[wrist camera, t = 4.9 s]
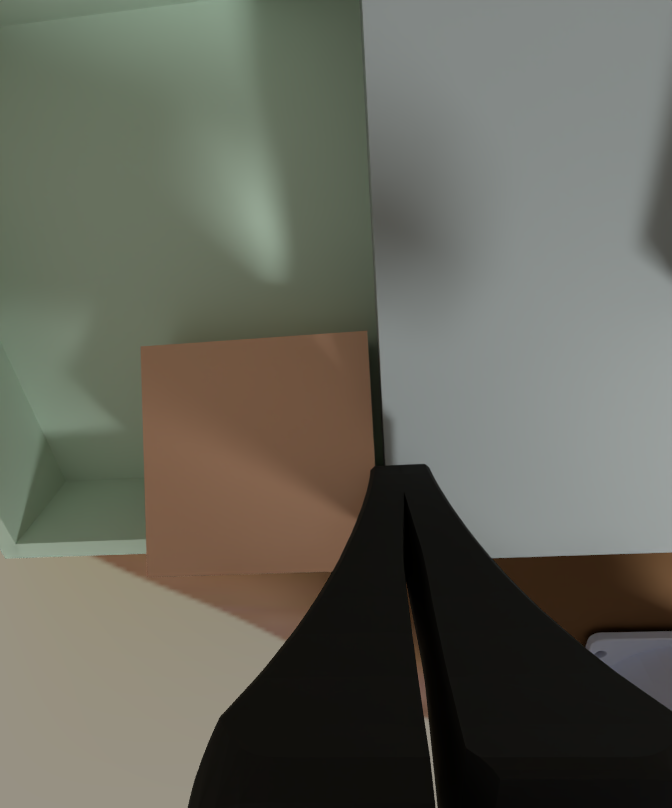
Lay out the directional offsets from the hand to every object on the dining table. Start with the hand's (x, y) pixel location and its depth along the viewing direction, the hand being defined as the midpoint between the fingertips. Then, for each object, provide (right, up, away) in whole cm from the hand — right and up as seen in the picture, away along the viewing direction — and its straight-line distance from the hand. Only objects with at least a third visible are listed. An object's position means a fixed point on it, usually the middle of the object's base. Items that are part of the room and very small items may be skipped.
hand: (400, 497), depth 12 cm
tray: (-6, +6, +3) cm, 9 cm away
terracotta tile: (-3, +1, +3) cm, 5 cm away
